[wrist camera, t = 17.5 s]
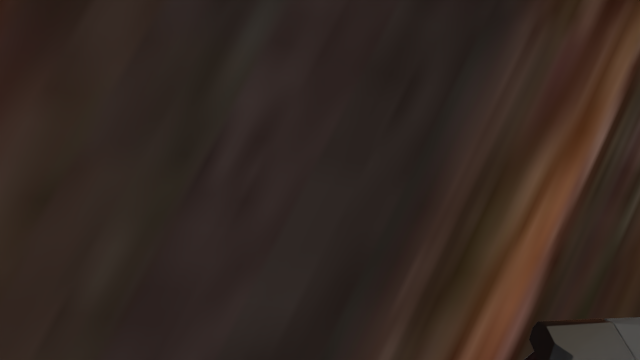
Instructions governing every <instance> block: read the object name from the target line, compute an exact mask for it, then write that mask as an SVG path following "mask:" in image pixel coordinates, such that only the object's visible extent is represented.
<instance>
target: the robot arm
mask: <svg viewBox="0 0 640 360" xmlns="http://www.w3.org/2000/svg"><path fill="white" fill-rule="evenodd" d="M529 340H530V342H531V345H532V347H533V349H534V352H533V353H531V354H530V355H529V356H528V357H527V358H525V359H524V360H640V317H636V318H611V319H604V320H603V319H582V320H560V321H538V322H537V323H536V324H535V326H534V327H533V328H532V332H531V335H530V339H529Z"/></svg>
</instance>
